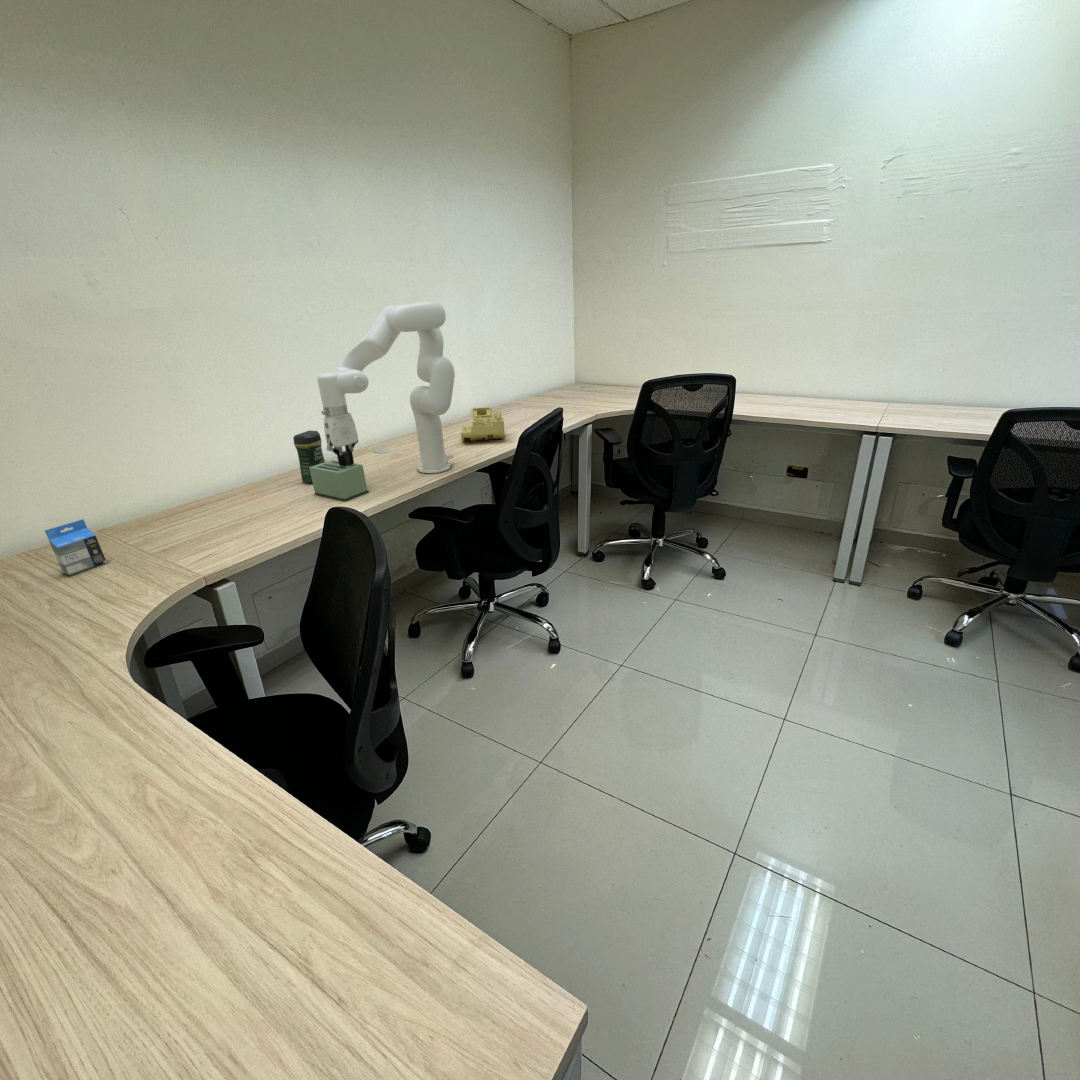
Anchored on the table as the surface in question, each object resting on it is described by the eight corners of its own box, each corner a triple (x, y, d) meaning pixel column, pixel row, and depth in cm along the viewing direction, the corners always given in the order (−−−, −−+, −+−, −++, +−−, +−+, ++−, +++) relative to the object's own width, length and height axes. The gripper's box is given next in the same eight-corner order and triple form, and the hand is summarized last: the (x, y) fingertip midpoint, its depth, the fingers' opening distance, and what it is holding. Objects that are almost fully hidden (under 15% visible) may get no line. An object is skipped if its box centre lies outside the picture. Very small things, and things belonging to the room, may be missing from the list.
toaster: (338, 485, 202) (332, 459, 198) (368, 492, 194) (362, 464, 190) (315, 494, 195) (308, 467, 191) (345, 501, 187) (339, 472, 182)
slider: (347, 461, 193) (345, 450, 191) (351, 462, 192) (349, 451, 190) (341, 463, 191) (339, 452, 189) (345, 464, 190) (343, 453, 188)
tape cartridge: (69, 576, 144) (49, 533, 139) (63, 573, 146) (43, 530, 141) (107, 562, 151) (89, 521, 146) (101, 559, 153) (83, 518, 148)
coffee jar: (316, 484, 205) (305, 435, 197) (299, 483, 207) (287, 434, 200) (333, 476, 213) (323, 429, 205) (316, 475, 216) (305, 428, 208)
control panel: (456, 405, 259) (498, 398, 261) (463, 436, 268) (503, 428, 269) (458, 424, 240) (503, 416, 241) (465, 456, 249) (508, 448, 250)
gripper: (323, 417, 176) (334, 472, 184) (362, 407, 188) (372, 459, 196) (308, 415, 180) (320, 469, 187) (347, 405, 192) (357, 457, 199)
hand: (346, 464), depth 191 cm, fingers closed on slider, 2 cm apart
